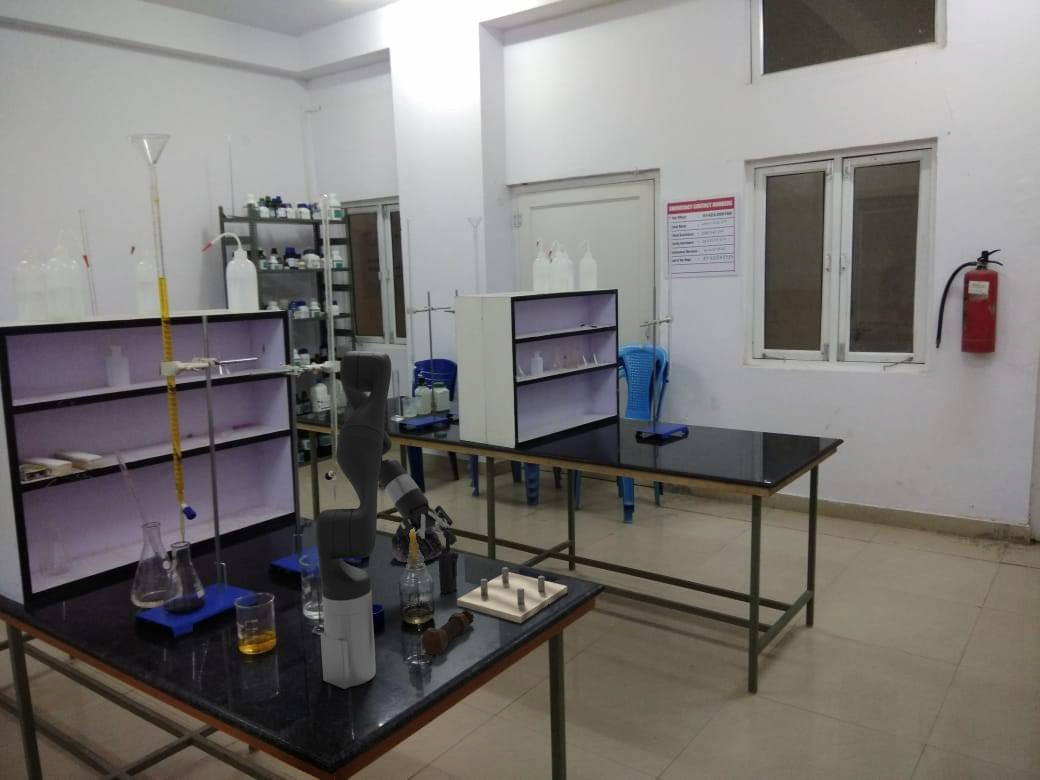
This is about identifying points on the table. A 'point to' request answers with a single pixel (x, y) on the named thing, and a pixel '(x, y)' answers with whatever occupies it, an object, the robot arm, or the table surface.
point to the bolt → (446, 632)
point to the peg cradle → (512, 596)
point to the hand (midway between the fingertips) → (443, 548)
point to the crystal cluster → (402, 545)
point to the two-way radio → (448, 567)
